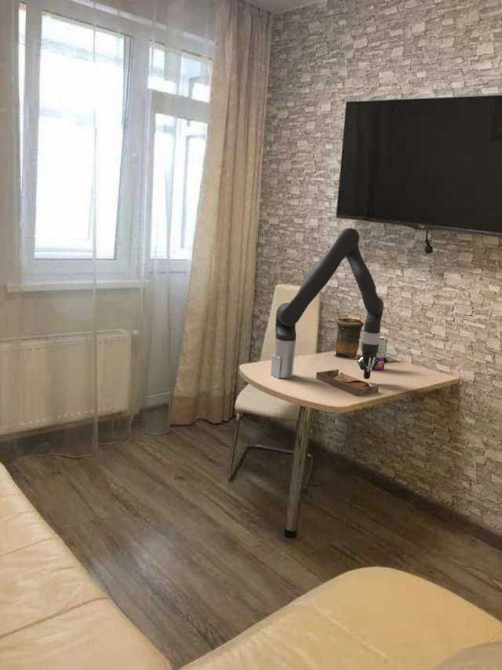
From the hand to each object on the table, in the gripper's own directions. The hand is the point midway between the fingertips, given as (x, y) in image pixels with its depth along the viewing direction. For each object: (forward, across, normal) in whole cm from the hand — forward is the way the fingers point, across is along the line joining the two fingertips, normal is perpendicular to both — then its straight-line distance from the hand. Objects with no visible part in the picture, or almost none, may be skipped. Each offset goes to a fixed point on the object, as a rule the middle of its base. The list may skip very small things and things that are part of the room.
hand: (366, 378), depth 252 cm
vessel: (+2, -24, -39) cm, 46 cm away
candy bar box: (+2, -19, -16) cm, 25 cm away
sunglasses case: (+2, +11, 0) cm, 11 cm away
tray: (+2, +12, -1) cm, 12 cm away
